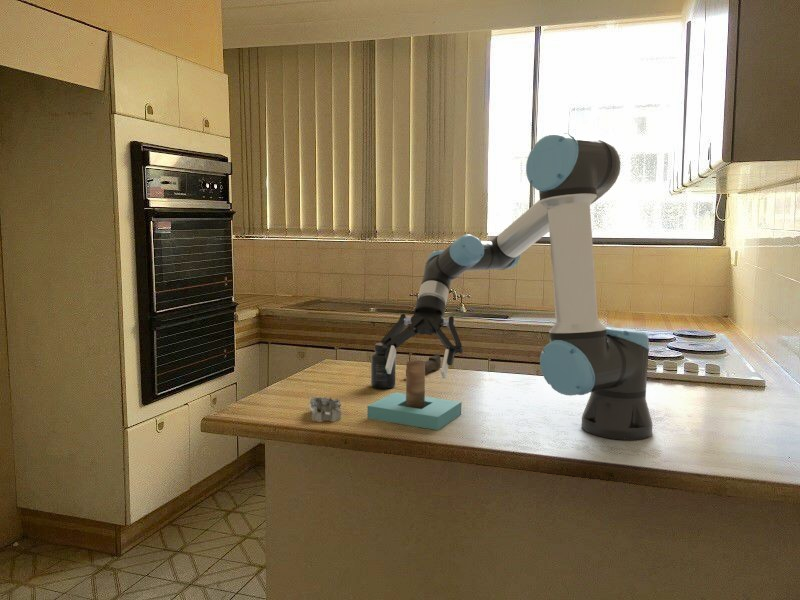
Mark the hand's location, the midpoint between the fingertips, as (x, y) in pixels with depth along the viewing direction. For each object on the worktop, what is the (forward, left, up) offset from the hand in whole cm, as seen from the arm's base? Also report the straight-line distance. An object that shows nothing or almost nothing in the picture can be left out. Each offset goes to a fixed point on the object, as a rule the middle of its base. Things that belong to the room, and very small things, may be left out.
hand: (415, 373), depth 157 cm
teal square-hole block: (0, +1, -10) cm, 10 cm away
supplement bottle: (+20, -20, -10) cm, 30 cm away
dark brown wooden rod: (+16, -41, -11) cm, 45 cm away
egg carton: (+19, +11, -11) cm, 24 cm away
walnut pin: (0, +1, -10) cm, 10 cm away
